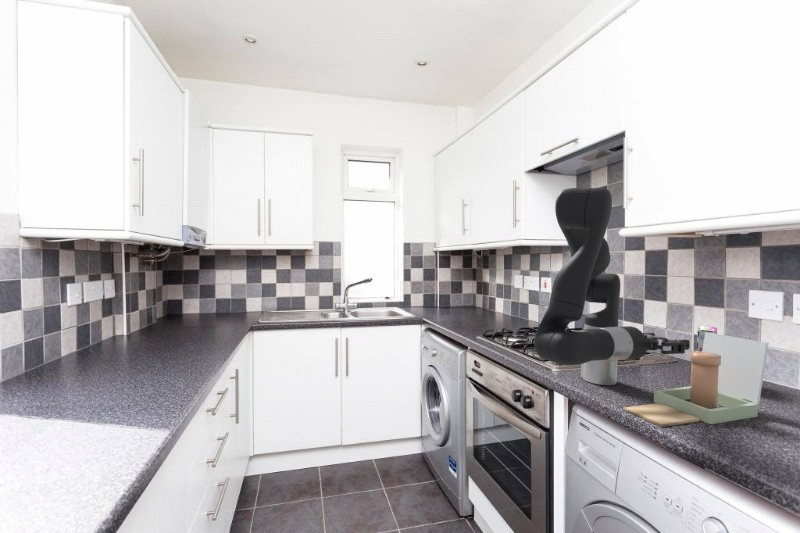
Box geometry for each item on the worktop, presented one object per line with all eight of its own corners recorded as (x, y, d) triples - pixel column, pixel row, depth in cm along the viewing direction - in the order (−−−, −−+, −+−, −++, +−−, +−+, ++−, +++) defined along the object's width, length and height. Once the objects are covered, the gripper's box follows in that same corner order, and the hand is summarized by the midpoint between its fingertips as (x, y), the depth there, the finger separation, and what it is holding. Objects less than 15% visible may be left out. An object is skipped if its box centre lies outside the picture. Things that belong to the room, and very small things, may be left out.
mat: (623, 409, 96) (623, 407, 96) (659, 405, 99) (659, 402, 99) (661, 427, 86) (661, 424, 86) (699, 420, 90) (699, 418, 90)
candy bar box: (715, 386, 115) (717, 331, 115) (694, 382, 118) (696, 329, 118) (715, 377, 124) (717, 326, 123) (696, 374, 127) (697, 324, 127)
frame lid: (696, 386, 106) (698, 332, 106) (705, 385, 107) (707, 331, 107) (756, 405, 93) (759, 343, 92) (766, 403, 94) (768, 342, 93)
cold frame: (653, 402, 101) (654, 390, 101) (697, 396, 106) (697, 385, 106) (710, 424, 88) (710, 411, 88) (757, 416, 93) (757, 404, 93)
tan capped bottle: (682, 405, 99) (683, 351, 99) (699, 403, 101) (701, 350, 101) (707, 415, 93) (709, 358, 93) (725, 412, 95) (727, 356, 95)
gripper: (646, 332, 81) (701, 330, 86) (593, 322, 95) (643, 320, 100) (645, 367, 81) (700, 363, 86) (592, 352, 95) (643, 349, 100)
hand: (670, 340), depth 93 cm, fingers open, 8 cm apart
